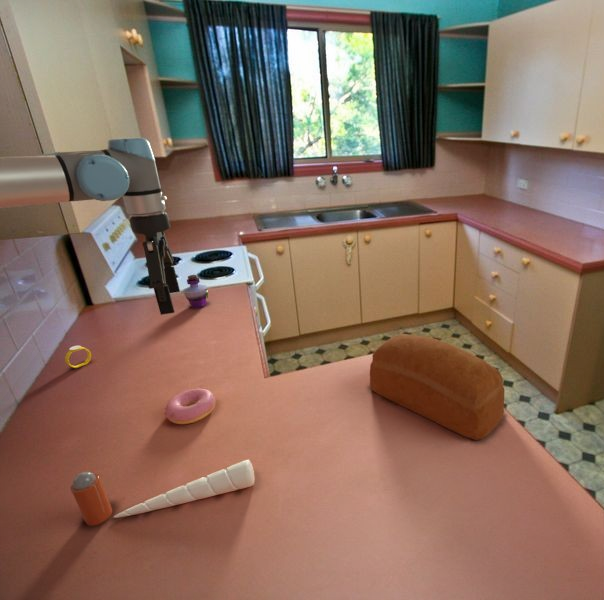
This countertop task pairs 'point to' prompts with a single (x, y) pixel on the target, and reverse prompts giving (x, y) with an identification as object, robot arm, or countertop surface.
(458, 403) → the bread
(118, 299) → the countertop surface
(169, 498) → the unicorn horn
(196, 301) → the potion bottle
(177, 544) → the countertop surface
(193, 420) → the doughnut
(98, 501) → the salt shaker
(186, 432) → the countertop surface
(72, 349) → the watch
